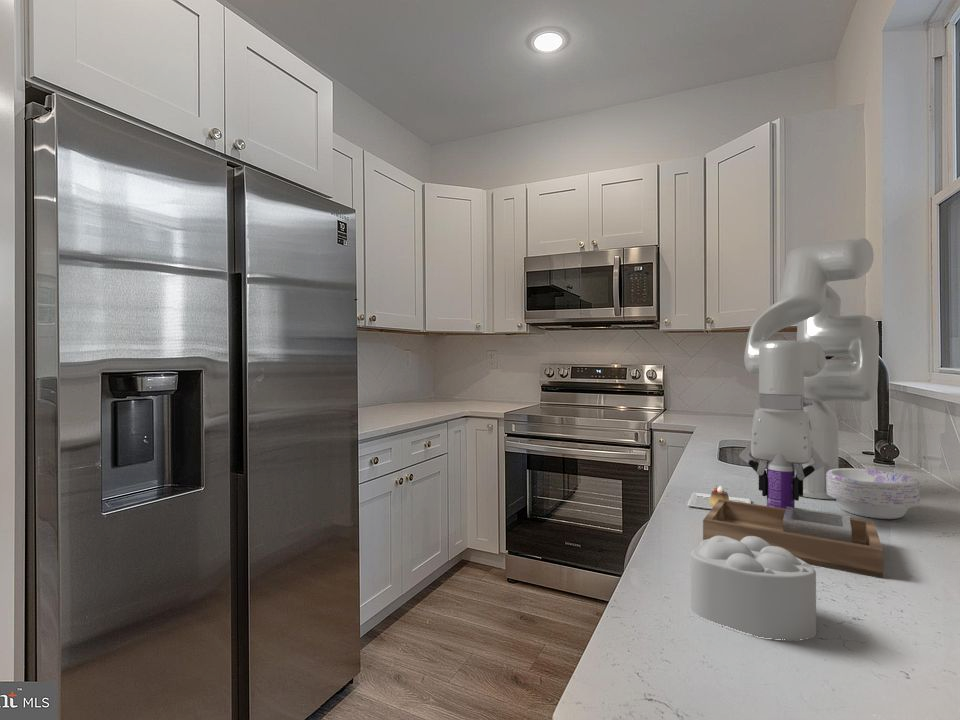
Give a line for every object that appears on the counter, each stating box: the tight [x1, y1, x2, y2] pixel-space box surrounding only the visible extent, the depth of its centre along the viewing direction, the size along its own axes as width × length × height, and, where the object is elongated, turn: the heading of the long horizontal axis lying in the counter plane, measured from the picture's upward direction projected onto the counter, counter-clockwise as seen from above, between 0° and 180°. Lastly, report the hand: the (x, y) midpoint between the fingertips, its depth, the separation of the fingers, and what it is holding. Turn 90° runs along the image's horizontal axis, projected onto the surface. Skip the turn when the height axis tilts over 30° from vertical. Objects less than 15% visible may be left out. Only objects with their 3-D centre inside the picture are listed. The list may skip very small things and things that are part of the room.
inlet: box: [783, 507, 852, 543], centre depth 83 cm, size 9×9×4 cm
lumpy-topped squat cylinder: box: [690, 536, 817, 640], centre depth 61 cm, size 10×13×9 cm
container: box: [766, 454, 796, 509], centre depth 98 cm, size 5×5×15 cm
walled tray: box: [702, 499, 884, 579], centre depth 86 cm, size 16×24×4 cm, turn 56°
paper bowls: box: [826, 467, 921, 520], centre depth 104 cm, size 15×15×8 cm
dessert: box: [686, 484, 752, 511], centre depth 109 cm, size 12×12×5 cm
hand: (780, 495), depth 98 cm, fingers closed on container, 4 cm apart
